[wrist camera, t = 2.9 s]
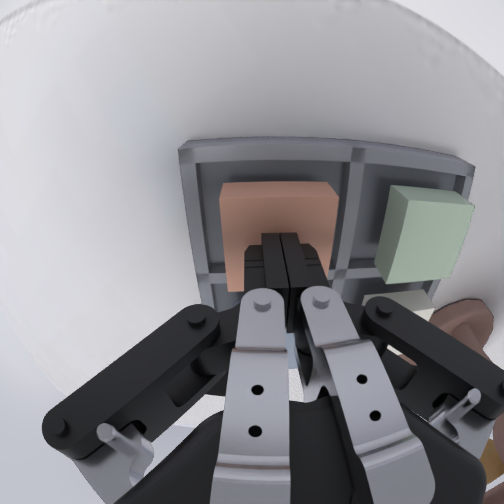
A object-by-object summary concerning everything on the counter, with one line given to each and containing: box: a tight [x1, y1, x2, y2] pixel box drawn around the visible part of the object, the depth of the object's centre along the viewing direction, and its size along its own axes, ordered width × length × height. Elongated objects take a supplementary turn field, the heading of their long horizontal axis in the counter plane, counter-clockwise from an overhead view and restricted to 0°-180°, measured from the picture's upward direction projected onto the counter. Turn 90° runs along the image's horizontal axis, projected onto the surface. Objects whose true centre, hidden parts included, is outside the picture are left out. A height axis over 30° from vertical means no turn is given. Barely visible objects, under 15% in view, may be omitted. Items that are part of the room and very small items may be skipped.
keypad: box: [178, 137, 475, 312], centre depth 18 cm, size 18×16×2 cm
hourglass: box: [398, 299, 504, 504], centre depth 16 cm, size 18×18×25 cm
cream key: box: [362, 289, 435, 355], centre depth 17 cm, size 5×5×2 cm
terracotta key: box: [219, 181, 339, 292], centre depth 13 cm, size 5×5×2 cm
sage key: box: [374, 185, 475, 284], centre depth 13 cm, size 5×5×2 cm
